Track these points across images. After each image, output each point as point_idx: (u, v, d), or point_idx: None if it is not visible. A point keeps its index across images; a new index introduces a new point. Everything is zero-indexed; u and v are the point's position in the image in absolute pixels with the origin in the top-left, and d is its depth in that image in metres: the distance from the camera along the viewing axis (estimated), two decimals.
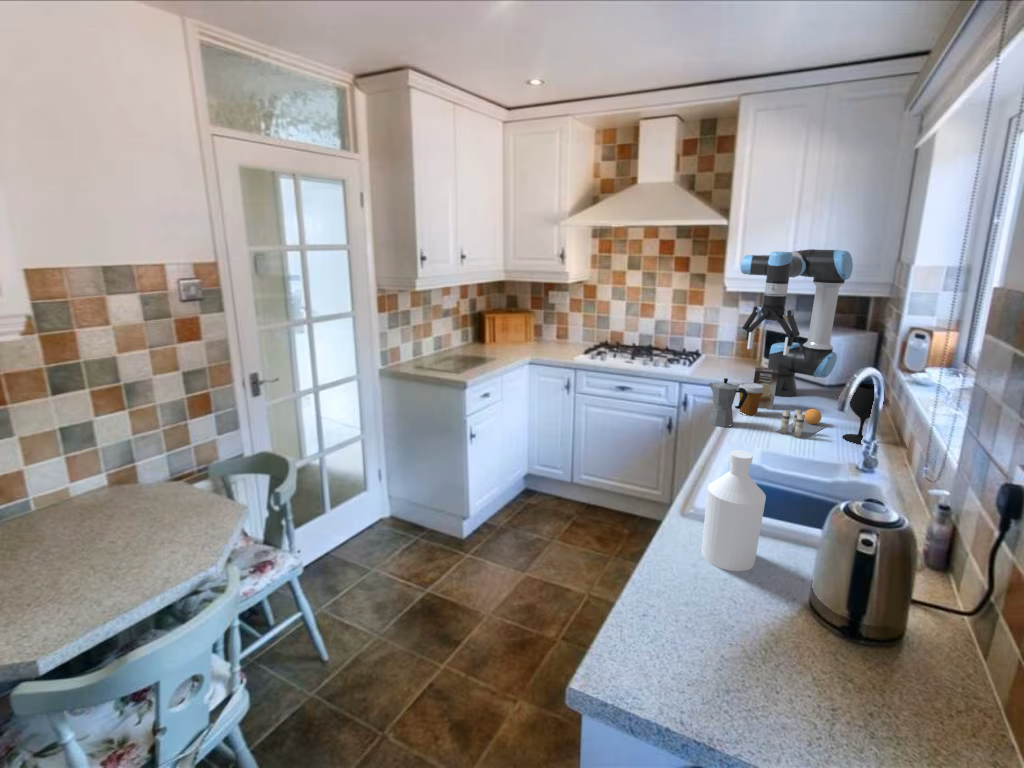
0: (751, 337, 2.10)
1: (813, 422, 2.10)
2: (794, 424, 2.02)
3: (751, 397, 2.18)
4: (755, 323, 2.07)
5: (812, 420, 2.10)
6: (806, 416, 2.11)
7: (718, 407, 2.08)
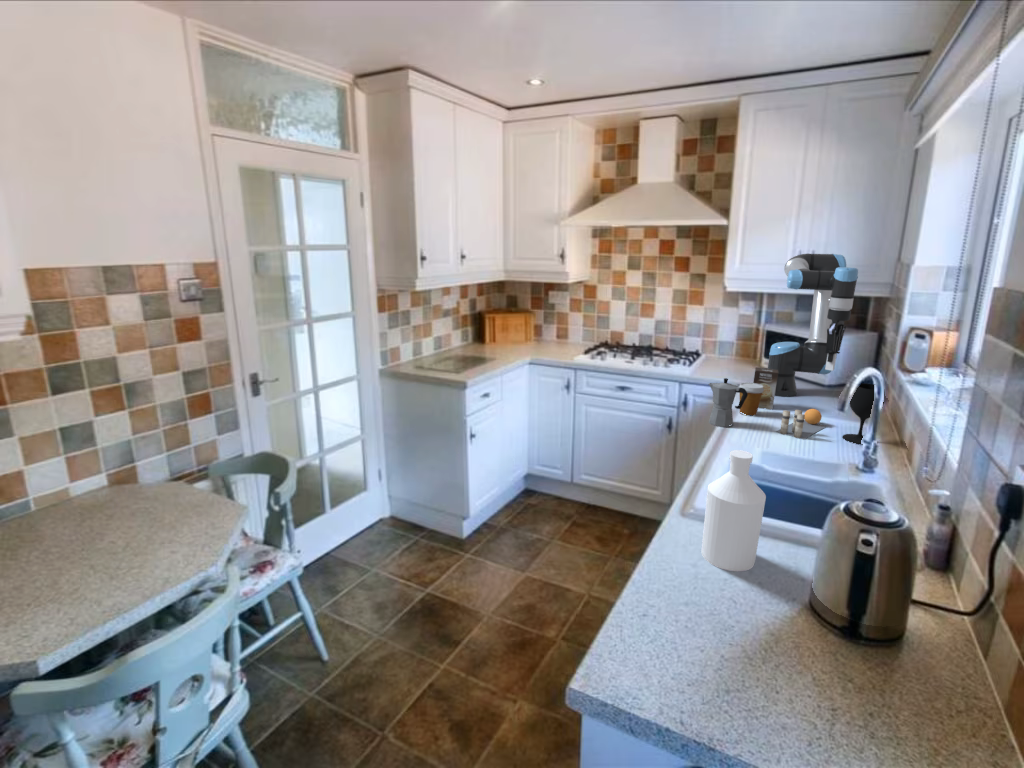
0: None
1: (813, 422, 2.10)
2: (794, 424, 2.02)
3: (751, 397, 2.18)
4: None
5: (812, 420, 2.10)
6: (806, 416, 2.11)
7: (718, 407, 2.08)
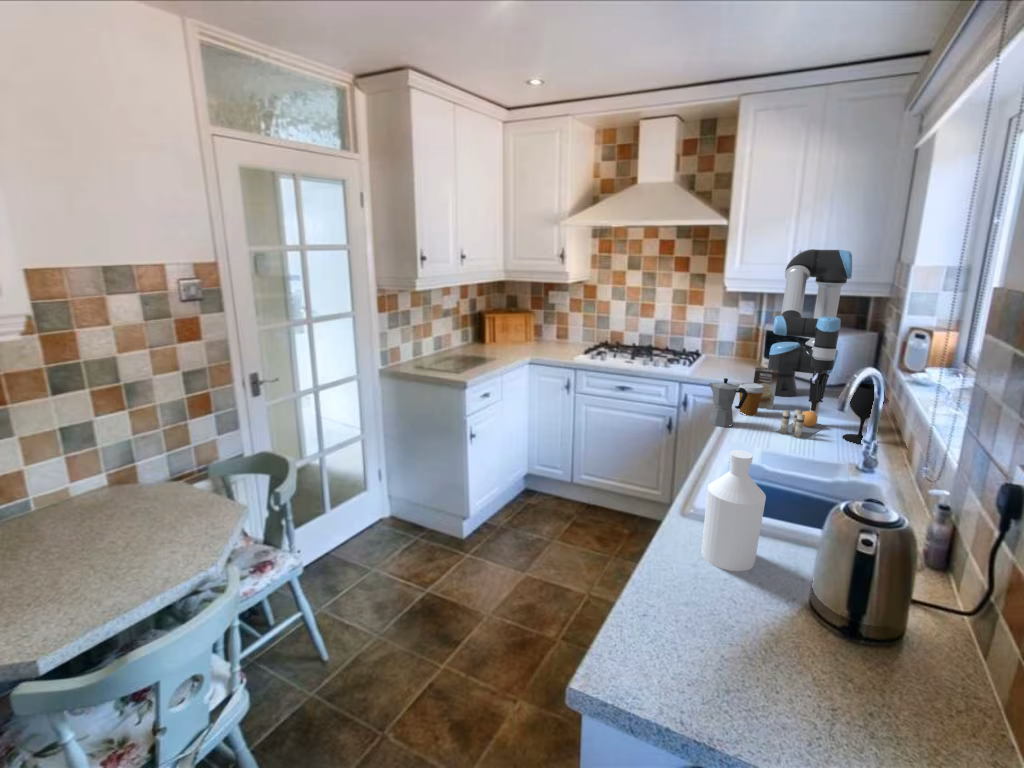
0: None
1: None
2: (794, 424, 2.02)
3: (751, 397, 2.18)
4: None
5: (810, 426, 2.09)
6: None
7: (718, 407, 2.08)
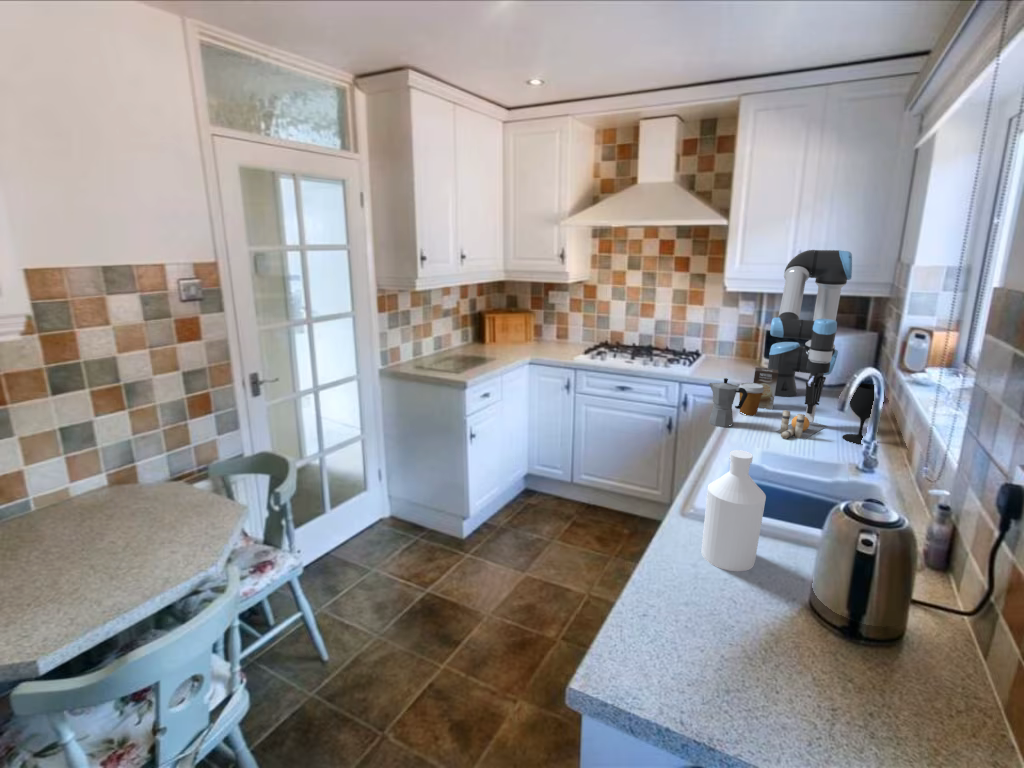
0: None
1: (805, 417, 2.03)
2: None
3: (751, 397, 2.18)
4: None
5: None
6: None
7: (718, 407, 2.08)
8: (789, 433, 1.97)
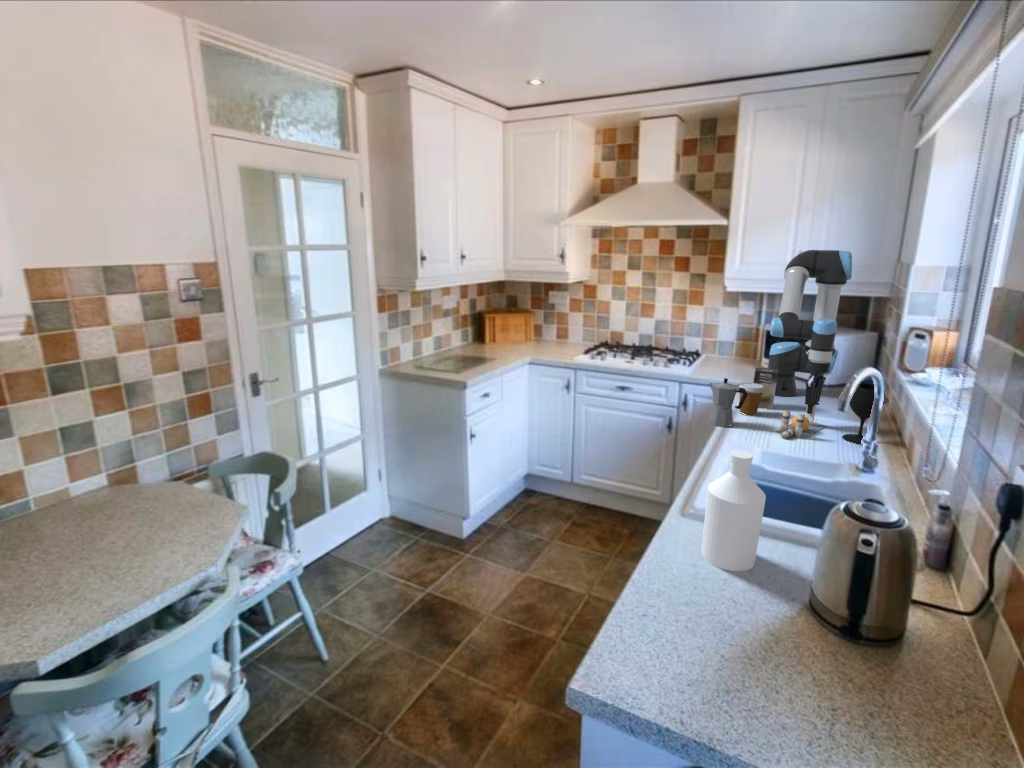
0: None
1: (805, 417, 2.03)
2: None
3: (751, 397, 2.18)
4: None
5: None
6: None
7: (718, 407, 2.08)
8: (789, 433, 1.97)
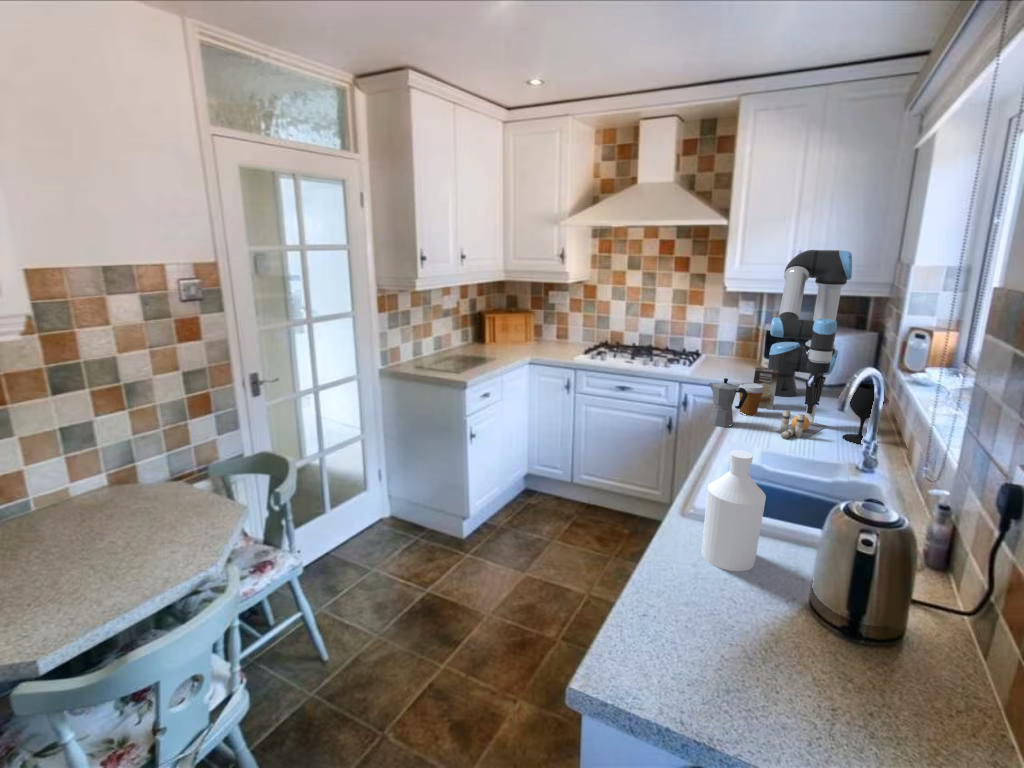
0: None
1: (805, 417, 2.03)
2: None
3: (751, 397, 2.18)
4: None
5: None
6: None
7: (718, 407, 2.08)
8: (789, 433, 1.97)
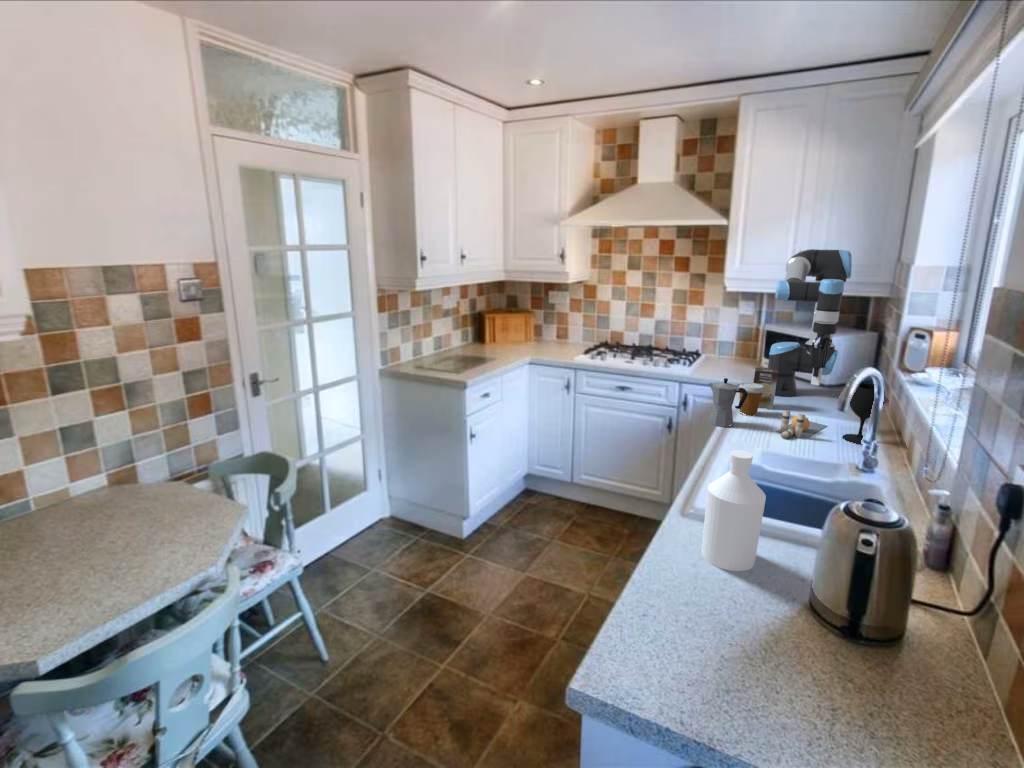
0: None
1: (805, 417, 2.03)
2: None
3: (751, 397, 2.18)
4: None
5: None
6: None
7: (718, 407, 2.08)
8: (789, 433, 1.97)
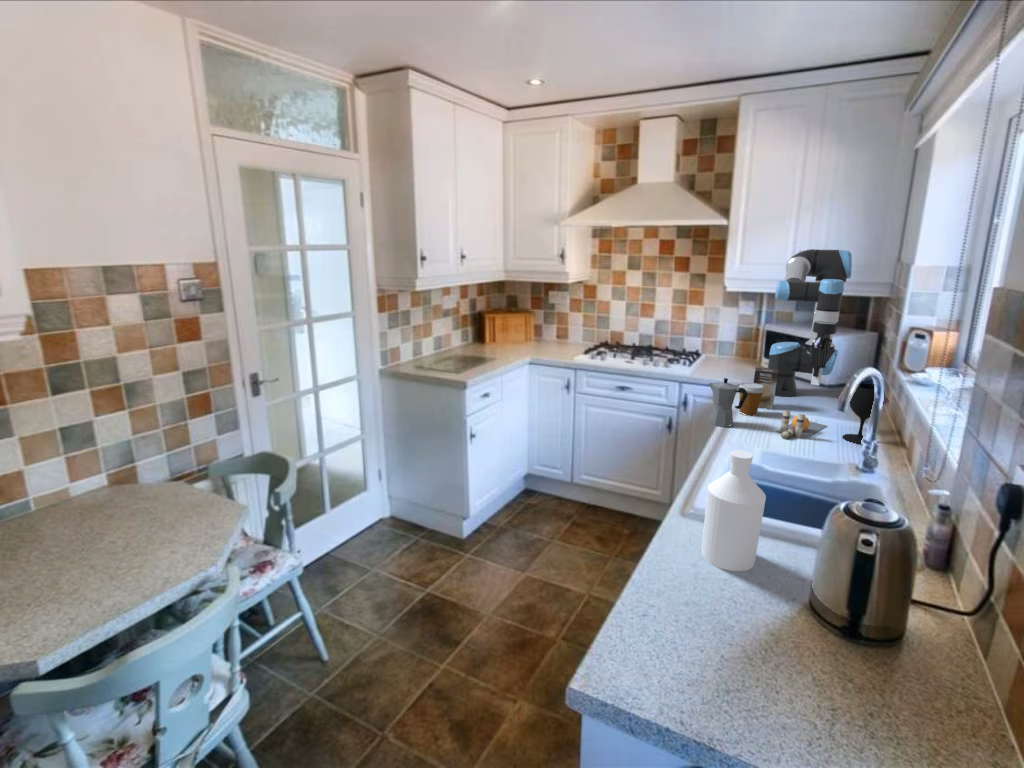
0: None
1: (805, 417, 2.03)
2: None
3: (751, 397, 2.18)
4: None
5: None
6: None
7: (718, 407, 2.08)
8: (789, 433, 1.97)
